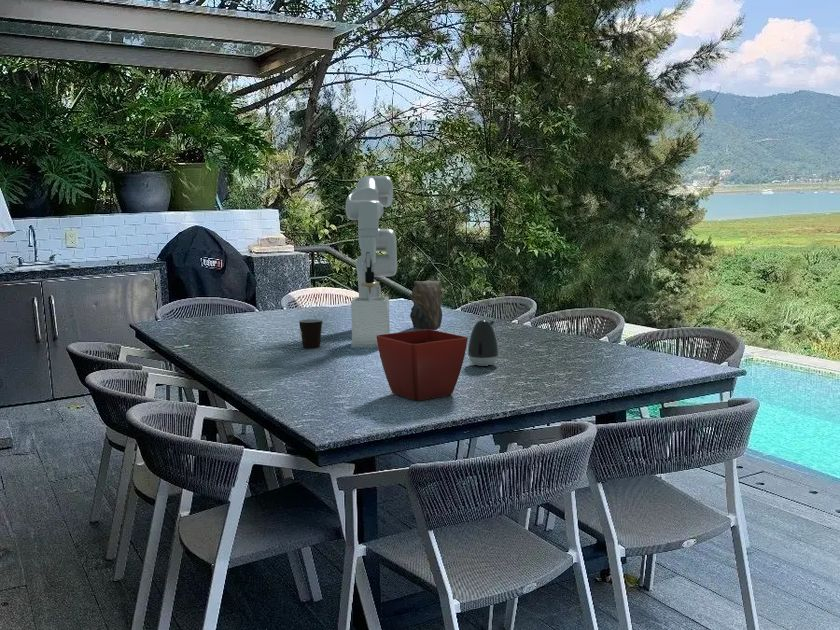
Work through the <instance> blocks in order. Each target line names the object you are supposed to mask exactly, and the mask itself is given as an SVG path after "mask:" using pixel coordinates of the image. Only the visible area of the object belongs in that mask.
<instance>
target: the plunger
mask: <svg viewBox="0 0 840 630" xmlns="http://www.w3.org/2000/svg"><path fill="white" fill-rule="evenodd" d="M379 285H380V281H377V282H374V283H366V282H361V286H365V287H368V290H369V301H372V286H379Z"/></svg>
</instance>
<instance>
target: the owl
mask: <svg viewBox="0 0 840 630" xmlns="http://www.w3.org/2000/svg"><path fill="white" fill-rule="evenodd" d="M413 285H414V286H413V287H412V288H413V289H411V290H412V291H411V294H410V296H411V301H412V303H413V306H412V307H411V312H410V314H409V317H410V319H411V323H412V328H413V329H418V330H427V329H431V330H436V331H438V329H439V328H440V327H441V326H442V325H441V324H442V322H443V321H442V320H443V311H442V307H441V306H442V301H443V289H442V286H443V283H442V280H430V279H428V280H425V281H419V280H417V281H416V280H414V281H413Z"/></svg>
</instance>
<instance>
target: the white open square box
mask: <svg viewBox="0 0 840 630" xmlns="http://www.w3.org/2000/svg"><path fill="white" fill-rule="evenodd" d="M389 298H390V297H389V296H381V297H372V301H369V297H359V296H355V297H354V298H353V299H352V300H351V301H350V309H351V310H350V311H351V312H350V315H351V316H350V317H351V319H350V320H351V343H350V348H351V349H354V348H355V349H358V348H359V349H362V348H363V349H365V348H370V349H372V348H373V349H374V348H375V349H376V348H378V343H377V335H383V334H391V333H390V331H391V330H390V299H389ZM378 349H379V348H378Z"/></svg>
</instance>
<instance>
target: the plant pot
mask: <svg viewBox="0 0 840 630" xmlns="http://www.w3.org/2000/svg"><path fill="white" fill-rule="evenodd" d="M468 339H469V338H468V337H467V336H463V335H459V334H454V333H450V332H449V333H448V332H444V331H440V330H436V329H418V330H411V331H409V330H408V331H402V332H400V331H399V332H394V333H393V332H392V333H390V334H383V335H377V343H378V352H379V357H380V361H381V365H382V367H383V372H384V374H385V378H386V380H387V383H388V386H389V389H390V390H391V393H392V394H394V395H397V396H400V397H403V398H406V399H408V400H411V401H414V402H415V401H416V402H418V401H419V402H420V401H424V400H430V399H431V398H432V399H437V397H438V398H443V397H442V396H444V397H448V396H447V395H449V396H452V395H453V393H454V391H455V388H456V385H457V383H458V380H459V377H460V373H461V371H462V367H463V364H464V360H465V355H466V350H467V344H468ZM451 394H452V395H451ZM432 399H431V400H432Z"/></svg>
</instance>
